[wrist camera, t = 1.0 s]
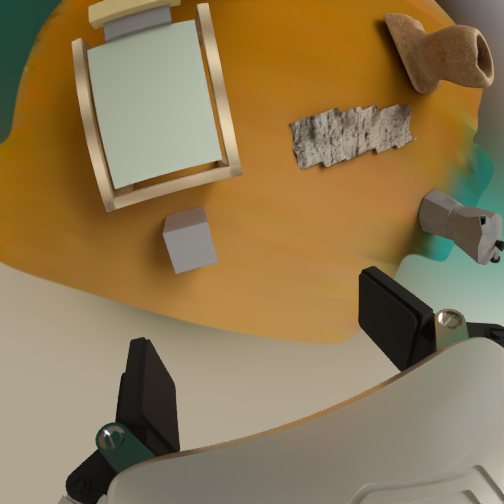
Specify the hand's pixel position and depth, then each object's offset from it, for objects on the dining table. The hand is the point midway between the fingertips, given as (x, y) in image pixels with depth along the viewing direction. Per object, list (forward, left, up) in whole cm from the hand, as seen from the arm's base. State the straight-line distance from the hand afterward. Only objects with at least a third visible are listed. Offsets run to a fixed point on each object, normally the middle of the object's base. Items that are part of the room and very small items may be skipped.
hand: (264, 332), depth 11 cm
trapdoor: (-14, -3, -17) cm, 23 cm away
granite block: (+4, -3, -27) cm, 27 cm away
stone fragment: (-5, +25, -28) cm, 37 cm away
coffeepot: (+12, +41, -27) cm, 51 cm away
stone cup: (-19, +39, -27) cm, 51 cm away
